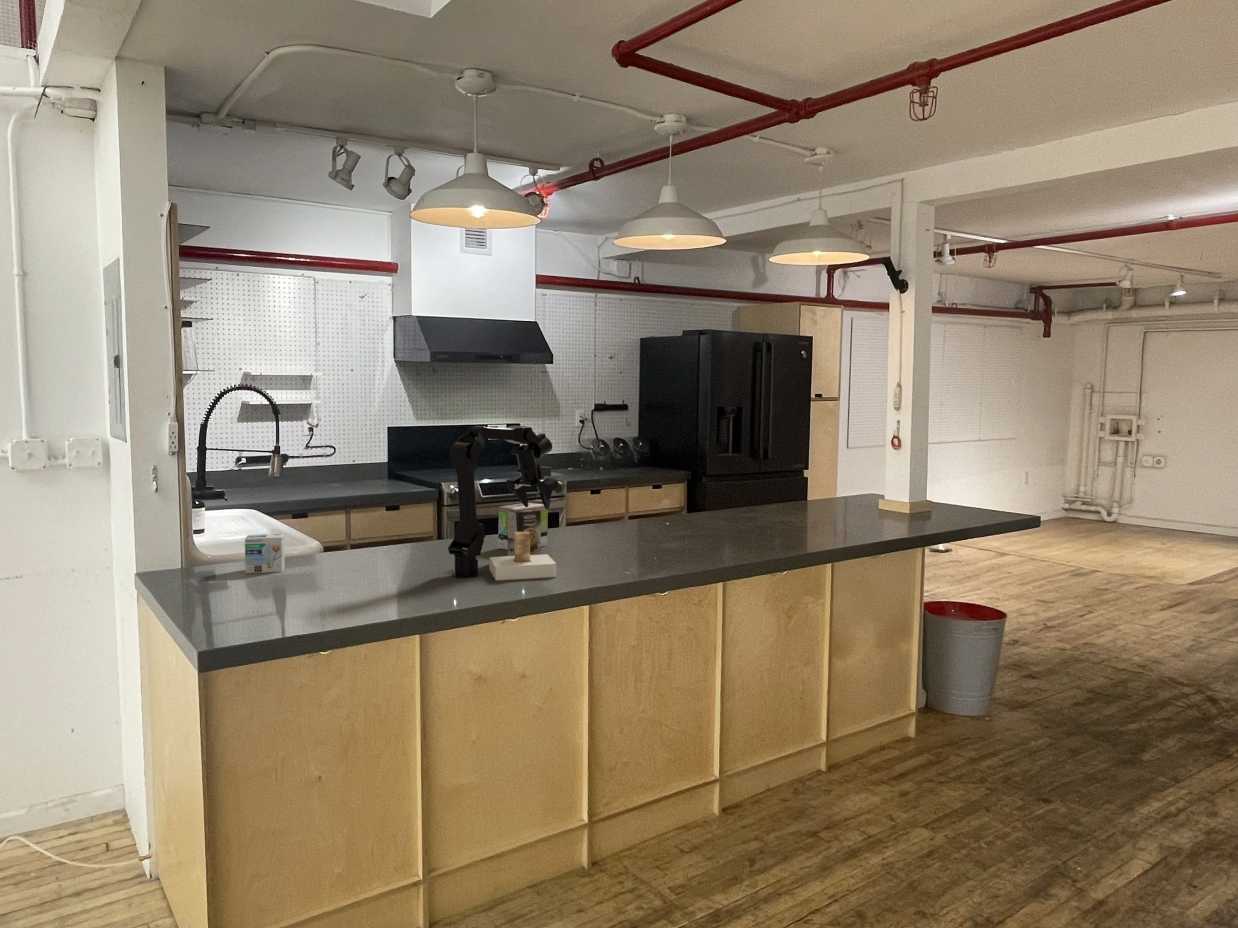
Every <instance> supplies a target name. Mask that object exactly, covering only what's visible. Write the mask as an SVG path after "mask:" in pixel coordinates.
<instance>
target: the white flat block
mask: <svg viewBox="0 0 1238 928" xmlns="http://www.w3.org/2000/svg"><path fill="white" fill-rule="evenodd" d="M489 571H490V574H491V575H492V577H493V578H494V579H495V581H509V580H526V579H529V580H531V579H543V578H544V579H545V578H557V563H556V561H554V559H552V557H550V556H549V554H545V553H544V554H541V555H530V562H518V563H515V556H508V555H506V556H505V555H504V556H490V557H489Z"/></svg>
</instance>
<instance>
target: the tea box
mask: <svg viewBox="0 0 1238 928" xmlns="http://www.w3.org/2000/svg"><path fill="white" fill-rule="evenodd" d="M522 509H535V510H540V511H541V547H546V546H548V525H549V524H548V523H549V522H548V519H549V517H548V515H549V514H548V513H549V509H548V510H546V508H545V507H544V504H543V503H535V502H528V507H525V506H524V505H523V504H522V502H521V503H516V504H515V503H514V504H509V505H508V504H507V505H503V506H502V505H501V506H498V531H497V532H498V535H497V537H498V538H497V547H498V548H499V549H502V550H506V551H508V511H512V510H522Z"/></svg>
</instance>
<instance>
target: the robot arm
mask: <svg viewBox="0 0 1238 928" xmlns="http://www.w3.org/2000/svg"><path fill="white" fill-rule="evenodd" d="M487 440H496V441H497V440H501V441H506V442H509V443H511V444H516V445H514V446H513V448H512V450H511V451H510V455H515V456H516V458H517V464H518V468H516V472H517V473H519V474H520V475H514V476H512V477H510V478H508V479H507V480H506V482H505V486H506V490H509V492H512V493H513V494H514V496H515V497H516V498H517V499H518V500H519V501H520V502H521V503H522V504H523V505H524V506H525V507H528V503H529V501H528V500H529V499H528V494H527V487H533V488H537V490H538V495H539V497H540V499H541V500H540V501H541V502H542V504H543V505H544V507H545V508H546V510H548V511H549V509H550V506H551V505H550V504H551V500H552V499H551V497H552V493H554V491H555V490H557V488H559V487H560V483H559V480H558V479H556V478H551V477H552V466H551V467H550V466H541V464H540V463H537V459H539V458H542V457H543V456H545V455H547V454H548V453H550V452H552V449H553V443H552V442H551V440H550V439H549V437H547V436H546V433H538V434H536V433H535V432H534V431H533V428H532V427H531V426H529V425H528V426H527V425H511V426H507V427H486V426H483V425H474V426H472V427H471V428H470V429H469V430H468V432H466V433H465V434H463V435H462V436H460V437H459V438H458V439H457V440H456V441H455V442H454V443H453V444H452V445H451V446H450V447H449V450H448V451H449V457H450V463H451V466H452V467H453V469H454V471H455V472H456V478H457V479H456V481H457V494H458V508H459V509H458V510H459V511H458V513H459V521H458V523H457V525H456V527H455V531H454V532H455V533H454V538H453V539H452V541H451V542H450V544H449V545H448V547H447V550H448V554H449V555H453V572H452V573H453V576H454V577H455V578H467V577H468V578H469V577H470V578H471V577H477V576H478V574H479V560H478V558H477V556H481V553H482V550H483V549H482V548H483V546H484V545H483V544H484V543H485V538H486V534H485V525H484V523H479V520H478V519H477V504H476V503H477V502H476V488H475V471H476V469H477V466H478V464H479V458H480V457H479V456H480V454H481V453H482V451H484V449H485V443H486V442H487ZM517 444H519V446H517ZM545 477H546V478H545ZM544 478H545V479H544Z"/></svg>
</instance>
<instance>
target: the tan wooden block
mask: <svg viewBox="0 0 1238 928" xmlns="http://www.w3.org/2000/svg"><path fill="white" fill-rule="evenodd" d="M518 562H530V533H529V532H528V531H524V532H515V563H518Z"/></svg>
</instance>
